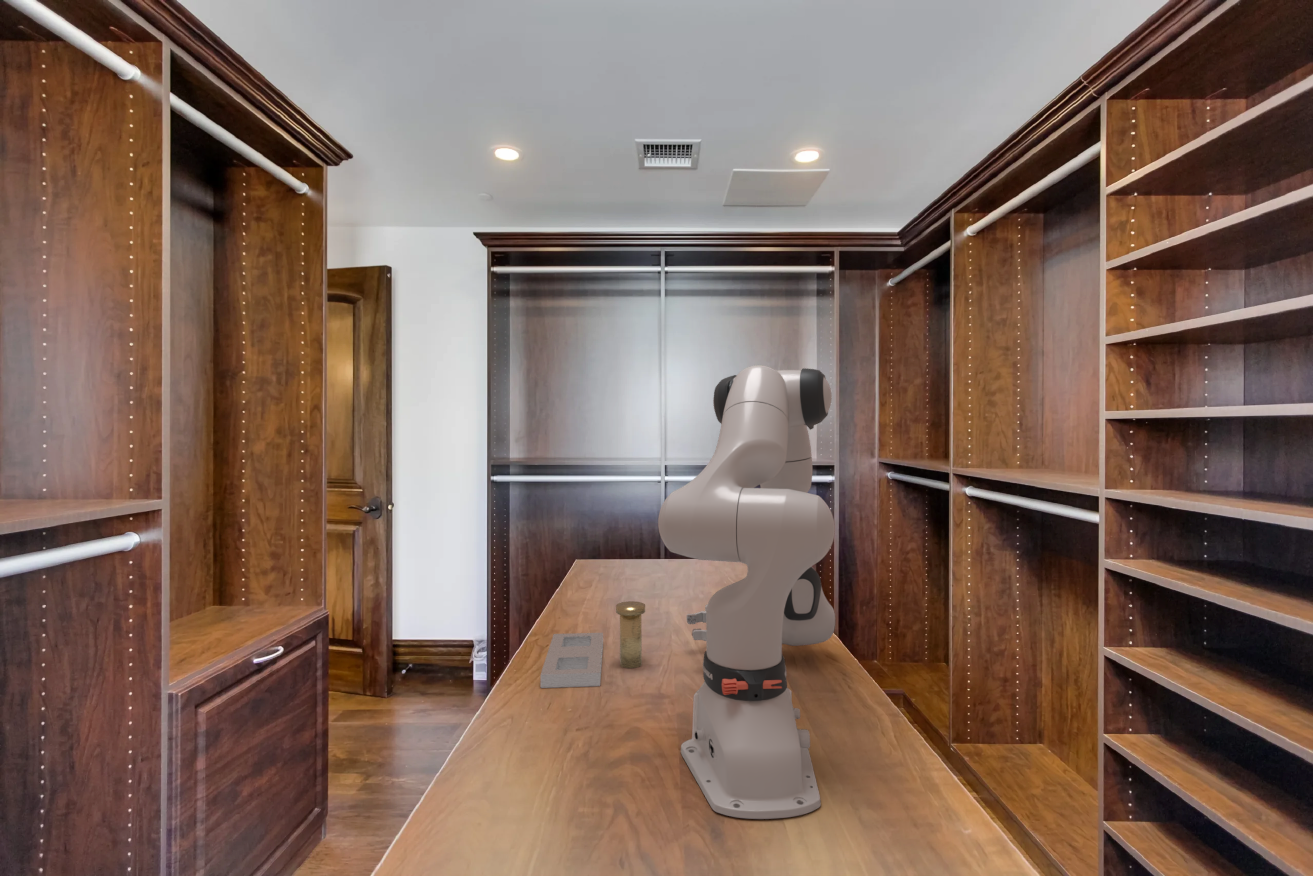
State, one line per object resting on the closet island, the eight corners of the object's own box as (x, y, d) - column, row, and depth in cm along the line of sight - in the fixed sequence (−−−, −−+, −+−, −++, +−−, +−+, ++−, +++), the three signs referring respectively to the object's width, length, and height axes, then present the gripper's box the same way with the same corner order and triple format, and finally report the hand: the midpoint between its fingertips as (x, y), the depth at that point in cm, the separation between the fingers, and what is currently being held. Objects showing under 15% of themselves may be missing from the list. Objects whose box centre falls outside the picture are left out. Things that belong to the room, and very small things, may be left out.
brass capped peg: (646, 669, 116) (645, 609, 116) (616, 670, 115) (615, 610, 115) (644, 658, 122) (644, 601, 122) (616, 658, 121) (616, 601, 121)
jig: (600, 686, 108) (599, 672, 108) (540, 688, 107) (540, 674, 107) (603, 643, 130) (603, 632, 130) (553, 645, 129) (553, 634, 129)
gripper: (744, 595, 131) (683, 596, 130) (768, 625, 110) (696, 627, 109) (744, 623, 131) (683, 624, 130) (768, 658, 110) (696, 661, 109)
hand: (689, 626), depth 119 cm, fingers open, 8 cm apart
